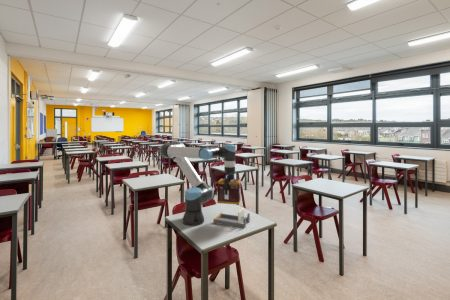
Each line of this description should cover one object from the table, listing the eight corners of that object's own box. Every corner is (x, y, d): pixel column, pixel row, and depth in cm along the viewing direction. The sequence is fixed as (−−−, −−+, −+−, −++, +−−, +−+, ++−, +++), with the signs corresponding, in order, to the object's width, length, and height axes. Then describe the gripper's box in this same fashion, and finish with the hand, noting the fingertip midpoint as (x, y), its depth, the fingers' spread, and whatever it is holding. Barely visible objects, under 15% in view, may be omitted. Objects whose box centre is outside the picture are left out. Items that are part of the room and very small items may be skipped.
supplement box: (239, 204, 167) (239, 182, 166) (217, 203, 170) (217, 181, 168) (240, 200, 177) (241, 179, 176) (220, 198, 180) (220, 178, 178)
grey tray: (213, 222, 172) (213, 214, 171) (220, 216, 184) (220, 208, 183) (244, 228, 163) (244, 219, 163) (249, 221, 175) (249, 213, 174)
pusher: (237, 225, 166) (238, 212, 165) (242, 219, 176) (243, 207, 175) (244, 226, 164) (244, 213, 163) (248, 220, 174) (249, 208, 173)
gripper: (229, 169, 159) (229, 202, 161) (239, 164, 181) (239, 193, 183) (218, 168, 161) (218, 200, 164) (230, 163, 183) (229, 192, 185)
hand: (229, 196), depth 173 cm, fingers closed on supplement box, 11 cm apart
